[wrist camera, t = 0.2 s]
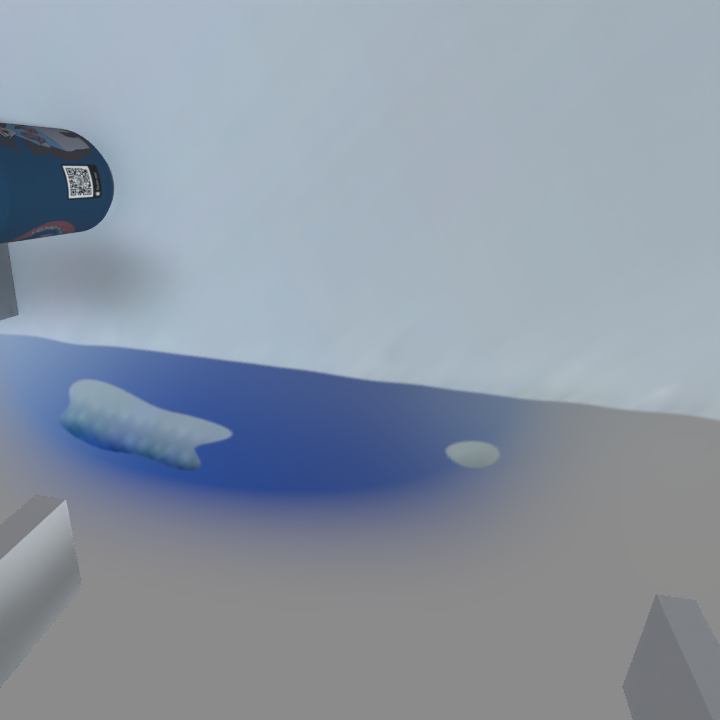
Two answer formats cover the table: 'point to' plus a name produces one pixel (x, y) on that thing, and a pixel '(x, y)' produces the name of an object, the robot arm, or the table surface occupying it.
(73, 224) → the soda can
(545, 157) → the table surface
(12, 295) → the tray
